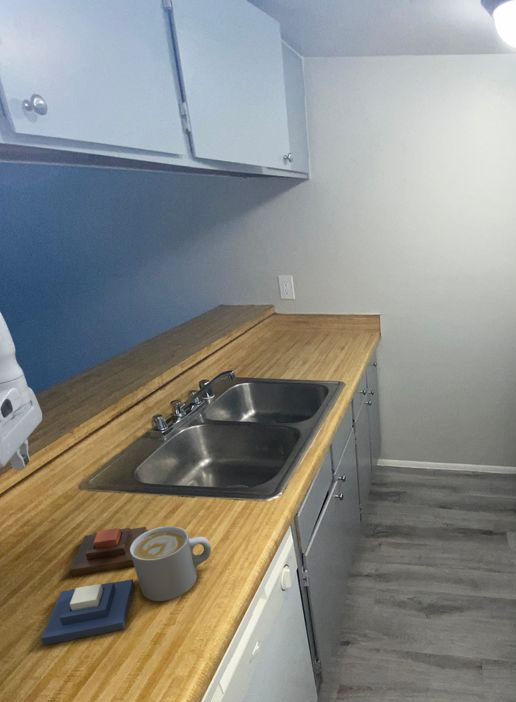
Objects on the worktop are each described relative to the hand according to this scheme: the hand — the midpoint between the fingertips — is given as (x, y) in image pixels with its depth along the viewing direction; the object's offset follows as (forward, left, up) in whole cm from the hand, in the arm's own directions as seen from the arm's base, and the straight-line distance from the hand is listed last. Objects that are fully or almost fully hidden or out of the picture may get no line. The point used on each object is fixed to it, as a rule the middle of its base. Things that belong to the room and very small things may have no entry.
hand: (22, 465), depth 85 cm
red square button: (+9, +2, -21) cm, 23 cm away
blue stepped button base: (+9, -15, -24) cm, 30 cm away
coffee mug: (+23, -10, -24) cm, 35 cm away
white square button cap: (+9, -15, -21) cm, 27 cm away
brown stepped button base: (+9, +2, -24) cm, 26 cm away
